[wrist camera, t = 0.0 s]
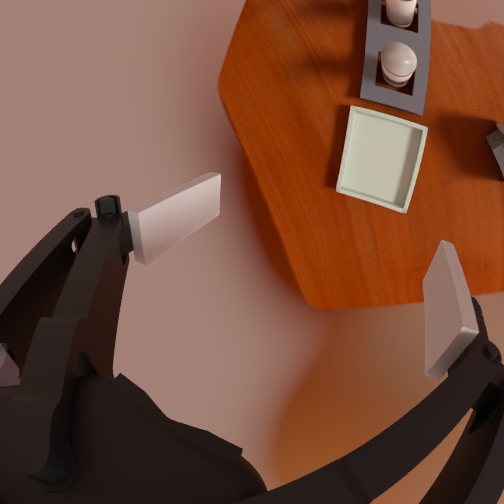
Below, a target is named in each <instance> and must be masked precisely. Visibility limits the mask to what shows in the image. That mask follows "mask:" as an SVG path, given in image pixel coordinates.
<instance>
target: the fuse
mask: <svg viewBox="0 0 504 504" xmlns="http://www.w3.org/2000/svg"><path fill="white" fill-rule="evenodd" d="M416 1H417V0H386V10H387V18H388V20H389V22H390V23H391V24H392V25H394V26H396V27H398V28H407V27H409V26H410V25H411V24H412V20H413V15H414V11H415V6H416Z"/></svg>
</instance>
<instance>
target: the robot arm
mask: <svg viewBox="0 0 504 504" xmlns="http://www.w3.org/2000/svg"><path fill="white" fill-rule="evenodd" d="M220 181H221V174H218V173H213V172H209V173H207V174H204V175H202V176H199V177H197V178H195V179H192V180H190V181H188V182H185V183H183V184H181V185H179V186H176V187H174V188H172V189H170V190H167V191H165V192H163V193H161V194H159V195H157V196H154V197H152V198H150V199H148V200H146V201H144V202H142V203H140V204H138V205H136V206H134V207H132V208H130V209H128V211H126V212H124V213H122V211H121V205H120V197H119V196H117V195H107V196H103V197H100V198H98V199H97V200H96V201H95V207H96V213H97V218H93V217H91V213H90V209H88V208H77V209H76V210H74V211H72V212H71V213H69V214H68V215H67V216H66V217H65V218H64V219H63V220H61V221H60V222H59V223H58V224H57V225H56V226H55V227H54V228H53V229H52V230H51V231H50V232H49V233H48V234H47V235H46V236H45V237H44V238H42V240H40V241H39V242H38V244H37V245H36V246H35V247H34V248H33V249H32V250H31V251H30V252H29V253H28V254H27V255H26V256H25V257H24V258H23V259H22V260H21V261H20V263H19V264H18V265H17V266H16V267H15V268H14V269H13V270H12V272H11V273H10V274H9V275H8V276H7V277H6V279H5V280H4V281H3V282H2V283H1V285H0V504H370V503H371V502H372V501H373V500H374V499H375V498H377V497H378V496H380V495H381V494H382V493H384V492H385V491H386V490H388V489H389V488H390V487H392V486H393V485H394V484H395V483H397V482H398V481H399V480H400V479H402V478H403V477H404V476H405V475H406V474H407V473H408V472H410V471H411V470H412V469H413V468H414V467H416V466H417V465H418V464H419V463H420V462H421V461H422V460H423V459H424V458H425V457H426V456H428V455H429V454H430V453H431V452H432V451H433V450H434V449H435V448H436V446H438V445H439V444H440V443H441V442H442V440H443V439H444V438H445V437H446V436H447V435H448V434H449V433H450V432H451V431H452V430H453V428H454V427H455V426H456V425H457V424H458V423H459V422H460V420H461V419H462V418H463V417H464V415H465V414H466V413H467V412H468V411H469V409H470V408H472V409H473V412H472V414H471V416H470V418H469V420H468V423H467V425H466V427H465V429H464V431H463V433H462V435H461V437H460V439H459V441H458V443H457V445H456V447H455V449H454V450H453V452H452V454H451V456H450V457H449V459H448V461H447V463H446V464H445V466H444V468H443V469H442V471H441V472H440V474H439V476H438V477H437V479H436V480H435V482H434V483H433V485H432V486H431V488H430V489H429V490H428V492H427V493H426V495H425V496H424V497H423V499H422V500H421V501H420V503H419V504H497V502H498V500H499V498H500V496H501V494H502V492H503V489H504V365H503V364H502V363H501V361H502V358H501V354H500V351H499V349H498V348H497V347H496V345H494V344H493V343H492V342H490V341H489V340H488V335H487V331H486V327H485V323H484V319H483V316H482V311H481V307H480V305H479V304H478V302H477V300H476V299H475V298H474V297H471V296H470V293H469V290H468V286H467V283H466V280H465V277H464V274H463V270H462V268H461V265H460V262H459V259H458V256H457V253H456V251H455V248H454V245H453V244H451V243H449V242H446V241H444V240H441V242H440V244H439V246H438V249H437V251H436V253H435V256H434V258H433V260H432V262H431V265H430V267H429V269H428V271H427V273H426V275H425V277H424V279H423V281H422V282H423V293H424V307H425V338H426V339H425V341H426V342H425V343H426V346H425V347H426V348H425V375H426V376H429V377H432V378H436V379H440V378H441V377H442V376H443V375H444V374H445V373H446V372H447V371H448V377H447V378H446V379H445V380H444V381H443V382H442V383H441V384H440V385H439V386H438V387H437V388H436V389H435V390H433V391H432V392H431V393H430V394H429V395H428V396H427V397H426V398H425V399H423V400H422V401H421V402H420V403H419V404H418V405H416V406H415V407H414V408H413V409H412V410H410V411H409V412H408V413H407V414H405V415H404V416H403V417H402V418H400V419H399V420H398V421H397V422H395V423H394V424H393V425H391V426H390V427H388V428H387V429H385V430H384V431H383V432H381V433H380V434H378V435H377V436H375V437H374V438H372V439H371V440H369V441H368V442H367V443H365V444H364V445H362V446H360V447H359V448H357V449H355V450H354V451H352V452H350V453H349V454H347V455H345V456H344V457H342V458H340V459H338V460H336V461H334V462H331V463H329V464H328V465H326V466H324V467H322V468H320V469H318V470H316V471H314V472H312V473H310V474H308V475H306V476H303V477H301V478H299V479H297V480H294V481H292V482H290V483H288V484H285V485H283V486H280V487H278V488H276V489H273V490H270V491H267V488H266V486H265V484H264V481H263V480H262V478H261V476H260V474H259V473H258V472H257V471H256V469H255V468H254V467H253V466H252V465H251V464H250V463H249V462H248V461H247V460H246V459H245V458H243V457H242V456H241V455H242V450H243V449H242V448H240V447H238V446H236V445H234V444H232V443H230V442H228V441H226V440H224V439H222V438H219V437H218V436H216V435H214V434H212V433H210V432H208V431H206V430H202V429H199V428H196V427H192V426H189V425H186V424H183V423H180V422H177V421H174V420H171V419H169V418H168V417H166V415H165V414H164V413H162V411H161V410H160V409H159V408H158V407H157V406H156V404H155V403H154V402H153V401H152V399H151V398H150V397H149V396H148V395H147V393H146V392H145V391H144V390H142V389H141V388H139V387H138V386H137V385H135V384H134V383H133V382H131V381H130V380H129V379H128V378H126V377H125V376H124V375H122V374H121V373H120V374H119V375H118V376H117V377H116V378H115V379H114V375H113V358H114V349H115V340H116V333H117V325H118V319H119V312H120V306H121V300H122V294H123V289H124V284H125V279H126V274H127V269H128V265H129V253H130V252H131V251H133V250H134V254H135V260H136V261H138V262H140V263H142V264H144V265H147V264H149V263H150V262H151V261H153V260H154V259H155V258H157V257H158V256H160V255H161V254H163V253H164V252H165V251H167V250H168V249H170V248H171V247H172V246H174V245H175V244H177V243H178V242H180V241H181V240H183V239H184V238H186V237H187V236H188V235H190V234H191V233H193V232H194V231H196V230H197V229H199V228H200V227H202V226H203V225H205V224H206V223H208V222H209V221H210V220H212V219H214V218H215V217H217V216H218V215H219V209H220V183H221V182H220ZM73 240H74V244H75V247H76V250H75V251H74V252H73V250H72V242H73ZM1 343H2V345H1ZM20 378H21V379H20Z"/></svg>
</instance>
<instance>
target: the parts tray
mask: <svg viewBox="0 0 504 504" xmlns="http://www.w3.org/2000/svg"><path fill="white" fill-rule="evenodd" d="M427 131H428V128H427V127H425V126H422V125H419V124H416V123H413V122H410V121H407V120H404V119H401V118H397V117H394V116H391V115H387V114H384V113H380V112H376V111H373V110H369V109H365V108H361V107H356V106H352V105H351V107H350V114H349V121H348V127H347V133H346V139H345V145H344V151H343V156H342V161H341V167H340V172H339V177H338V182H337V187H336V192H339V193H343V194H346V195H349V196H353V197H356V198H359V199H362V200H366V201H369V202H372V203H375V204H378V205H381V206H384V207H387V208H390V209H393V210H396V211H399V212H402V213H404V214H406V212H407V209H408V206H409V203H410V199H411V196H412V192H413V189H414V185H415V182H416V178H417V174H418V171H419V167H420V163H421V158H422V154H423V150H424V145H425V141H426V136H427Z"/></svg>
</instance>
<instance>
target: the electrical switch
mask: <svg viewBox="0 0 504 504" xmlns="http://www.w3.org/2000/svg"><path fill="white" fill-rule="evenodd" d="M496 126H497V128H498V130H496V131H494V132H492V133H491V134H489V135H488V136H486V137H485V138H486V139H487V141H488V143H489V145H490V147H491V149H492V151H493V153H494V156H495V158H496V160H497V162H498V165H499V167H500V169H501V172H502V174H503V177H504V126H503V125H502V124H501V123H500V122H499V123H497V124H496Z"/></svg>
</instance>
